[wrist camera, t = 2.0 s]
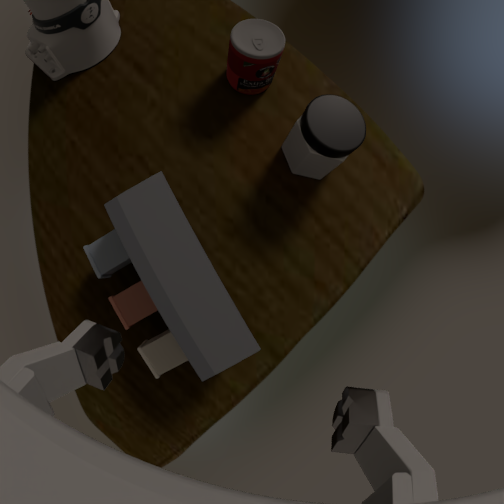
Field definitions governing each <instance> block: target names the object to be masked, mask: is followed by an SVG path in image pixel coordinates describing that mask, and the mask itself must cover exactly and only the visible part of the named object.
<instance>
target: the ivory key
mask: <svg viewBox="0 0 504 504" xmlns="http://www.w3.org/2000/svg"><path fill="white" fill-rule="evenodd" d="M137 350H138V351H139V353H140V354H141V356H142V358H143V359H144V361H145V362H146V364H147V365H148V367H149V369H150V370H151V372H152V373H153V375H154V376H155V378H156V379H157V378H159V377H160V376H161V374H163V373H165V372H167V371H169V370H171V369H173V368H175V367H176V366H178V365H180V364H182V363H184V362H186V361H188V359H187V357H186V356H185V354H184V353H183V351H182V349H181V348H180V346H179V345H178V343H177V341H176V340H175V338H174V336H173V335H172V333H171V331H170V330H169V329H168V330H166V331H165V332H163V333H161V334H159V335H157V336H155V337H154V338H152V339H150V340H148V339H147V340H145V341H144V342H143V343H142V344H141V345H140V346H139V347H138V348H137Z"/></svg>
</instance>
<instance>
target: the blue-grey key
mask: <svg viewBox="0 0 504 504" xmlns="http://www.w3.org/2000/svg"><path fill="white" fill-rule="evenodd" d="M83 248H84V250H85V252H86V254H87V257H88V259H89V261H90V263H91V265H92V267H93V269H94V271H95V273H96V275H97V277H98V279H101V278H110V277H111V276H112V274H113V273H115V272H116V271H118V270H120V269H121V268H123V267H125V266H126V265H128V264H130V263H131V260H130V258H129V256H128V254H127V252H126V250H125V248H124V246H123V244H122V242H121V240H120V238H119V236H118V234H117V231H116V229H114V230H113V231H111V232H109V233H108V234H106V235H105V236H103V237H101V238H100V239H98V240H97V241H95V242H93V243H92V244H90V245H85V246H84V247H83Z"/></svg>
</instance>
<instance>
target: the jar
mask: <svg viewBox="0 0 504 504" xmlns="http://www.w3.org/2000/svg"><path fill="white" fill-rule="evenodd" d="M365 135H366V125H365V121H364V119H363V116H362V114H361V113H360V111H359V110H358V109H357V108H356V107H355V106H354V105H353V104H352V103H351V102H350V101H348V100H346V99H344V98H342V97H340V96H336V95H321V96H318V97H316V98H315V99H313V100H312V101H311V102H310V103H309V104H308V105H307V107H306V109H305V111H304V113H303V115H302V116H301V117H300V118H299V119H298V120H297V121H296V123H295V125H294V126H293V128H292V130H291V131H290V133H289V135H288V136H287V138H286V140H285V141H284V143H283V145H282V146H281V148H282V150H283V152H284V155H285V157H286V160H287V162H288V164H289V167H290V169H291V172H292V173H293V174H297V175H302V176H306V177H310V178H315V179H319V180H321V179H322V178H323V177H324V176H326V175H327V174H328V173H329V172H331V171H332V170H333V169H335V168H336V167H337V166H338V165H340V164H341V163H342V162H343V161H344V160H345V159H346V158H347V157H348V155H349V154H351V153H352V152H353V151H354V150H356V149H357V148H358V147H359V146H360V145H361V144H362V143H363V141H364V139H365Z"/></svg>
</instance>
